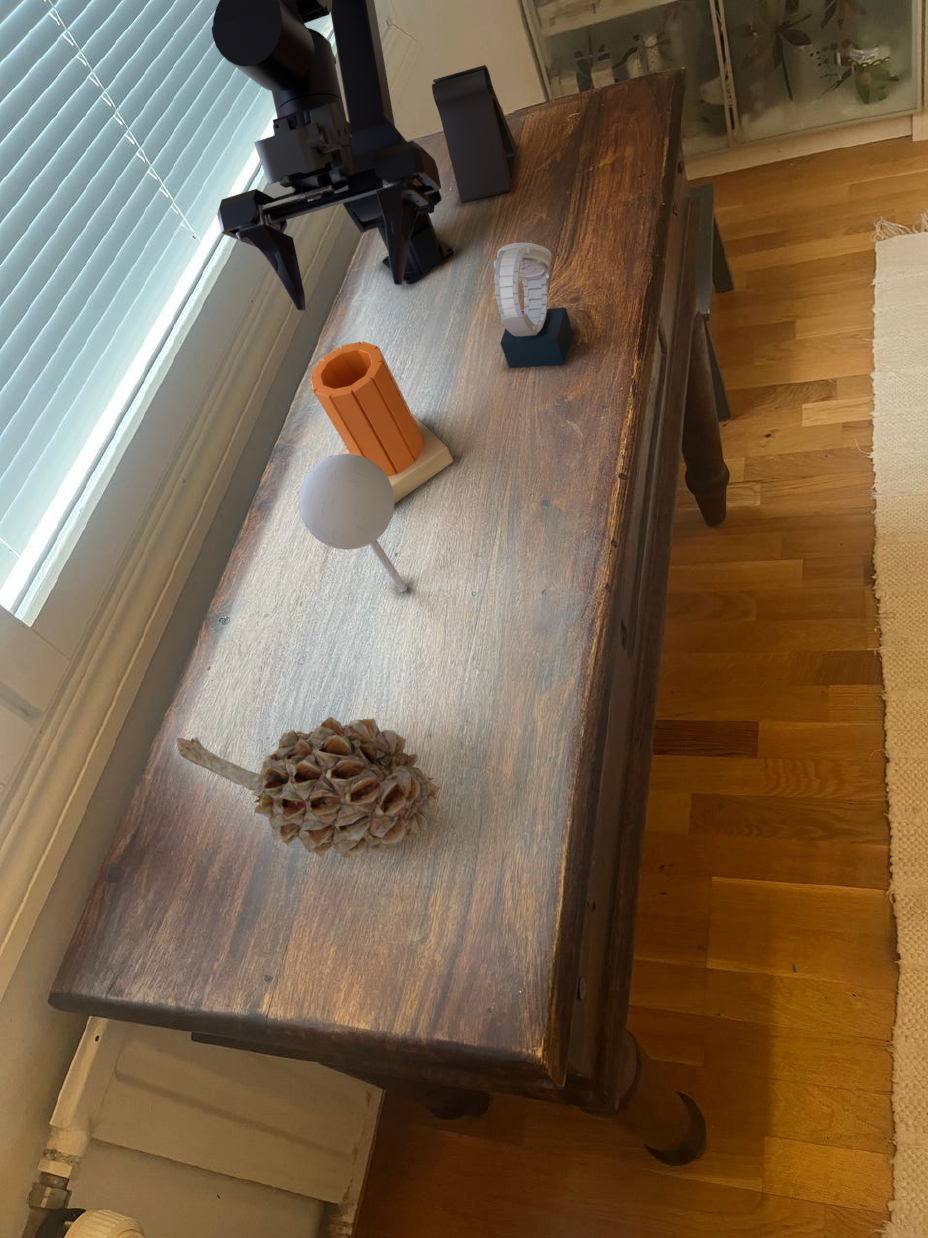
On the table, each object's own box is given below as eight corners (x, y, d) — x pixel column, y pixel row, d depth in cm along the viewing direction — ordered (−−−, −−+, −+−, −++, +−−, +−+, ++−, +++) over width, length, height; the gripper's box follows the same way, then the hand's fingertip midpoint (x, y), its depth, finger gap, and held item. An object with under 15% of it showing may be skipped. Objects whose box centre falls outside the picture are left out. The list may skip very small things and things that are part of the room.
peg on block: (345, 468, 89) (310, 412, 83) (412, 421, 90) (383, 362, 84) (383, 512, 84) (349, 456, 78) (454, 461, 85) (426, 402, 79)
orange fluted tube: (346, 454, 87) (298, 374, 79) (402, 414, 88) (361, 330, 80) (377, 489, 83) (330, 408, 75) (436, 446, 84) (395, 362, 76)
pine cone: (475, 764, 67) (429, 698, 59) (439, 895, 62) (383, 842, 55) (227, 733, 76) (158, 672, 68) (179, 845, 71) (99, 794, 63)
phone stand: (510, 192, 106) (480, 89, 97) (461, 204, 108) (426, 103, 99) (517, 148, 111) (488, 45, 102) (470, 160, 113) (437, 60, 104)
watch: (577, 319, 91) (550, 220, 82) (560, 377, 87) (530, 280, 78) (522, 323, 93) (491, 227, 84) (504, 381, 89) (469, 286, 80)
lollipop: (454, 557, 78) (385, 433, 67) (426, 628, 75) (349, 511, 64) (382, 552, 82) (304, 432, 70) (352, 620, 78) (266, 506, 67)
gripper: (162, 111, 73) (209, 312, 76) (381, 36, 68) (423, 254, 71) (230, 151, 84) (269, 326, 86) (423, 88, 79) (459, 276, 81)
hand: (349, 297), depth 81 cm, fingers open, 9 cm apart
